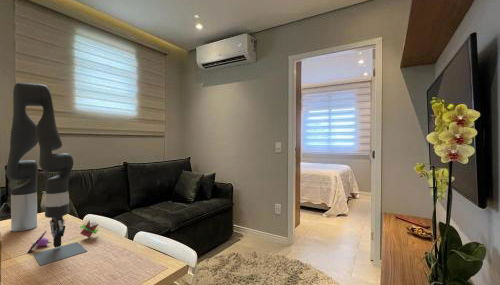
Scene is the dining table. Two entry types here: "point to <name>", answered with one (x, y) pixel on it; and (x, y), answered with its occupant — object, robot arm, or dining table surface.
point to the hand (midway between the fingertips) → (57, 246)
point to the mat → (59, 253)
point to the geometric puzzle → (89, 228)
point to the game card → (40, 242)
